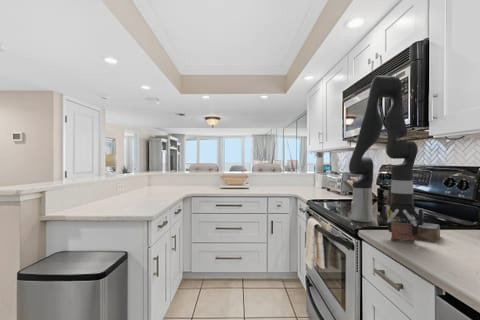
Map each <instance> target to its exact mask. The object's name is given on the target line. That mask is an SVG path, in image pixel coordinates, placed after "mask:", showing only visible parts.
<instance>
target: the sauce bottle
mask: <svg viewBox="0 0 480 320" xmlns="http://www.w3.org/2000/svg"><path fill="white" fill-rule="evenodd" d="M387 191H388V195H387V197H386V201H385V205H387V206H391V184H388V185H387ZM392 214H393V212H392V211H391V210H390V209H389V210H388V211H387V218H389V217H390V216H391V215H392ZM396 220H397V219H393V220H392V221H396ZM399 221H400V220H399ZM386 224H387V227H388V223H387V222H386Z"/></svg>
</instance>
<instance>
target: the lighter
mask: <svg viewBox="0 0 480 320" xmlns="http://www.w3.org/2000/svg"><path fill="white" fill-rule="evenodd" d="M393 219H397V220H396V221H391V232H390V234H391V238H390V241H391V242H393V243H402V244H403V243H405V244H415V243H416V242H415V240H416V239H414V236H413V226H414V225H413V224H412V222H411V221H410V220H409V219H408V218H402V217H401V218H400V217H398V216H395V217H393ZM399 220H400V221H399Z"/></svg>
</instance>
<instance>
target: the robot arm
mask: <svg viewBox="0 0 480 320" xmlns="http://www.w3.org/2000/svg"><path fill="white" fill-rule="evenodd" d="M402 88H403V87H402V81H401V79H400V77H399V76H396V75H377V76H375V77H373V79H372V81H371V84H370V87H369V93H368V99H367V102H366V103H367V104H366V108H365V111H364V116H363V119H362V121H361V125H360V128H359V132H358V138H357V139H356V140H357V141H356V143H355V148H354V150H353V153H352V154H351V157H350V159H349V164H348V170H349V173H350V174H352V175H353V176H354V175H357V176H359V175H362V176H361V177H360V178H359V179H357V180H355V181H353V182H352V201H351V202H350V203H351V205H350V206H351V211H350V212H351V221H355V222H358V223H359V222H360V223H361V222H362V223H370V222H371V223H372V222H373V183H374V162H373V159H372V158H371V157H369V156H365V157H364V155H365V154H366V152H367V151H368V150H369V149H370V148H371V147H372V146H373V145H375V144H376V142H377V141H378V140H379V139H380V136H381V133H382V130H383V125H384V123H385V129H386V132H387V133H386V135H387V137H386V139H387V142H386V148H385V154H386V155H387V157H388V158H389V159H395V160H396V159H397V160H399V159H400V160H401V159H404V160H403V161H402V163H400V164H395V165H393V166H391V183H390V185H391V206H387V205H386V204H384V205H382V207H381V217H382V221H384V222H386V224H387V223H388V226H387V230H388V231H389V233H391V221H392V220H393V217H395V216H398V217H400V218H401V217H402V218H408V219H409V220H410V222H412V224H413V225H414V226H413V236H416V235H417V234H418V226H419V225H423V224H424V223H425V214H424V213H425V211H424V210H425V209H424V208H422V207H421V208H415V206H414V205H415V203H414V182H413V168H414V165H415V162H416V159H417V156H418V155H417V154H418V152H419V151H418V150H419V148H418V145H417V143H416V142H415V141H414V140H400V139H402V138H405V137H406V136H408V127H407V124H406V119H405V115H404V108H403V107H404V106H403V101H404V99H403V89H402ZM380 98H390V100H391V105H390V107H389V109H388V111H387V113H386V115H385V118H384V123H383V120H382V116H381V115H380V111H379V109H378V107H379V105H378V104H379V99H380ZM389 209H390V210H391V211H392V212H393V214H392V215H391V216H390V217H389V218H387V211H388V210H389ZM414 212H416V214H417V215H418V221H417V219H416V217H415V216H414V215H413V214H414Z"/></svg>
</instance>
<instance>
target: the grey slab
mask: <svg viewBox="0 0 480 320" xmlns="http://www.w3.org/2000/svg"><path fill="white" fill-rule="evenodd" d="M440 238H441V226H440V224H437V223H429V222H424V224H423V225H419V226H418V234H417V235H416V236H414V240H420V241H424V242H432V243H438V241H439V239H440Z"/></svg>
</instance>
